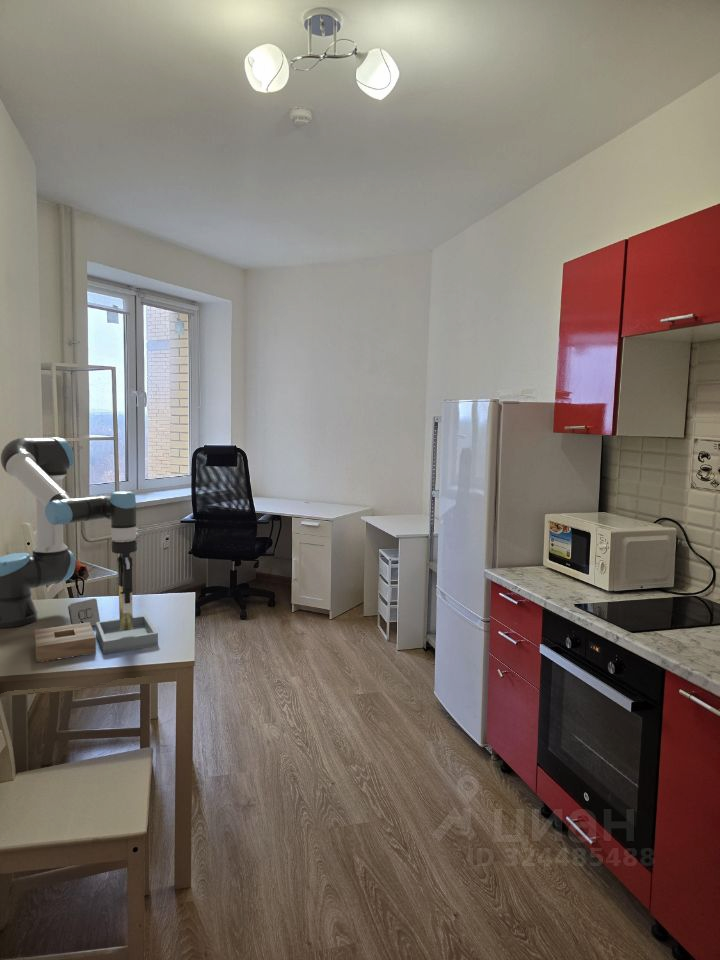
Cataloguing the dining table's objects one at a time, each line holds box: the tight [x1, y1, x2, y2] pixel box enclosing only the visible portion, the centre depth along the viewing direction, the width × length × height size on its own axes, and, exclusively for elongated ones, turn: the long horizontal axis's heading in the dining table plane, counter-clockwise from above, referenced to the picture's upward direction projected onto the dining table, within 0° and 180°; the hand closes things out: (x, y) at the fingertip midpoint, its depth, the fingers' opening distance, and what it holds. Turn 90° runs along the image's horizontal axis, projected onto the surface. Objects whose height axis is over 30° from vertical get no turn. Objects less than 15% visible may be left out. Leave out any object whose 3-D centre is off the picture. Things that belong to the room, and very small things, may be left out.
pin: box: [118, 585, 134, 631], centre depth 193 cm, size 4×4×14 cm
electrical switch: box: [67, 598, 101, 627], centre depth 206 cm, size 9×5×9 cm, turn 141°
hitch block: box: [34, 622, 97, 663], centre depth 185 cm, size 16×16×5 cm
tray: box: [95, 614, 159, 655], centre depth 194 cm, size 20×16×4 cm
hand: (126, 610), depth 193 cm, fingers closed on pin, 4 cm apart
